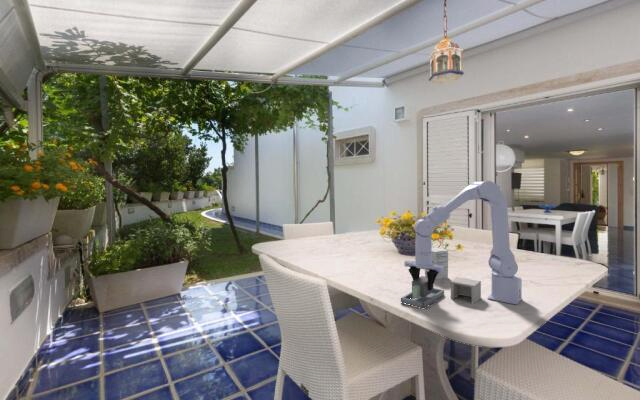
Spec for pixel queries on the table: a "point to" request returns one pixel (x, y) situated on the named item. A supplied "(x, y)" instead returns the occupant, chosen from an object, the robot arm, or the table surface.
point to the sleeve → (466, 288)
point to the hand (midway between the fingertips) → (423, 288)
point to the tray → (423, 298)
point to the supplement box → (440, 261)
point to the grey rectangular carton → (420, 287)
